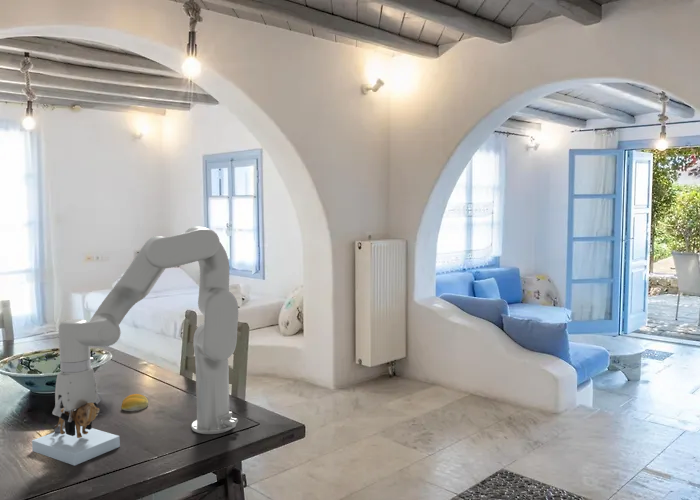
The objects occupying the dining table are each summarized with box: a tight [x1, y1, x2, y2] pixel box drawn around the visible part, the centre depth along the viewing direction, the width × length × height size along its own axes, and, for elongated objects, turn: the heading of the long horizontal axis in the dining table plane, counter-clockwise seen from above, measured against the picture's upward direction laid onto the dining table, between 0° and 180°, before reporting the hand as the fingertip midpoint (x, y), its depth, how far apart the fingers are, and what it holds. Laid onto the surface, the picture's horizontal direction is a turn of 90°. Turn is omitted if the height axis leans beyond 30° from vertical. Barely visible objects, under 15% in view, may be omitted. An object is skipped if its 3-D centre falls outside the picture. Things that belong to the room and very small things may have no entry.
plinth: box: [31, 424, 121, 466], centre depth 168 cm, size 18×14×5 cm
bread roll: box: [120, 393, 149, 412], centre depth 202 cm, size 8×9×4 cm
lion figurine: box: [52, 402, 100, 438], centre depth 168 cm, size 15×5×9 cm, turn 73°
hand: (78, 430), depth 168 cm, fingers closed on lion figurine, 4 cm apart
